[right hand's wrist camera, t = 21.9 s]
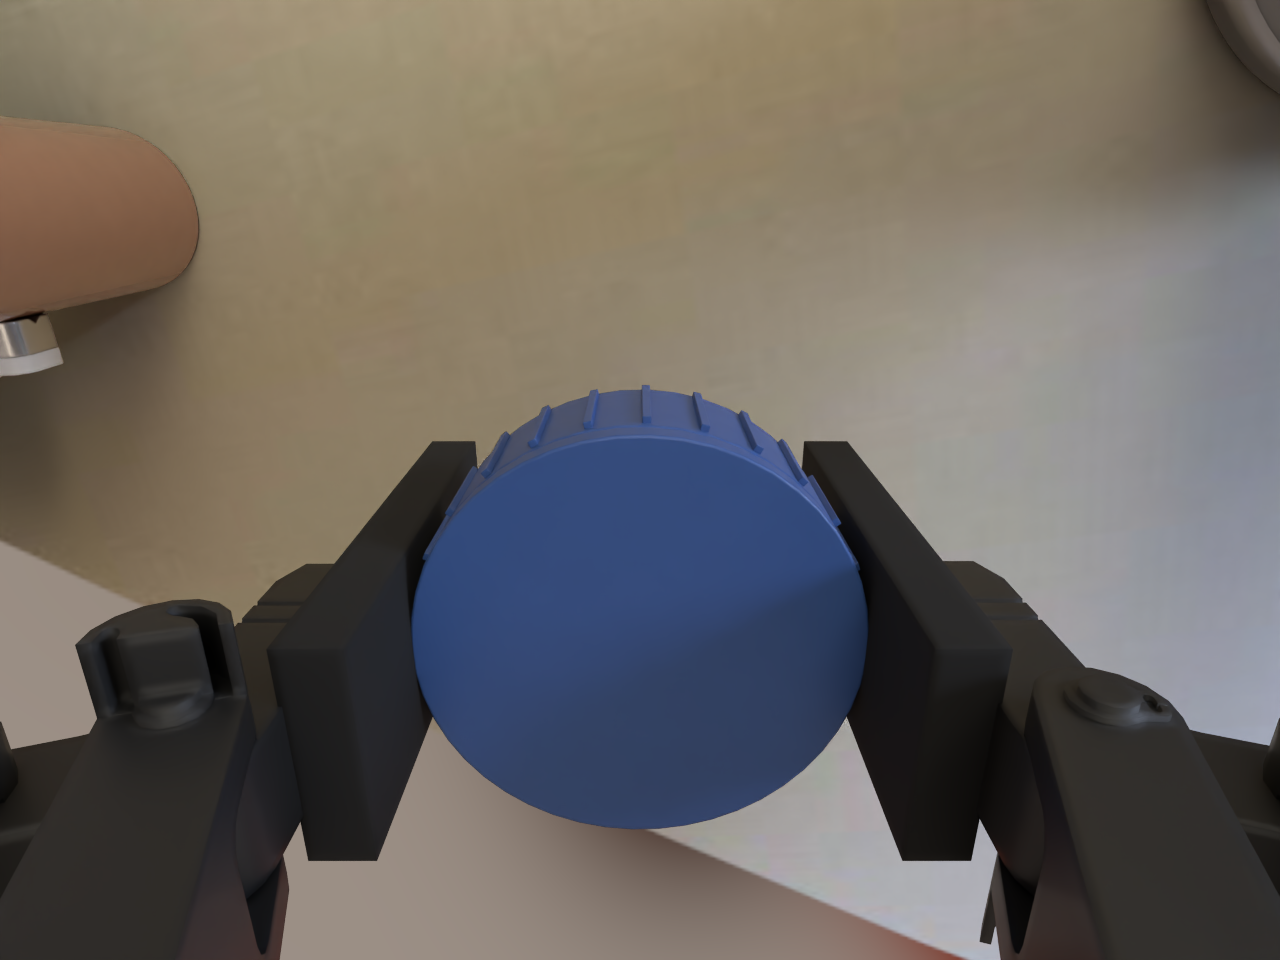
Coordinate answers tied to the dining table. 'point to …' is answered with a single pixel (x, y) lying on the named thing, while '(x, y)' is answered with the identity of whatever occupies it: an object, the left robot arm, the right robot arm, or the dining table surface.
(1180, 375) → the dining table surface
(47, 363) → the left robot arm
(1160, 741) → the right robot arm
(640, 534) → the lid
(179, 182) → the jar
